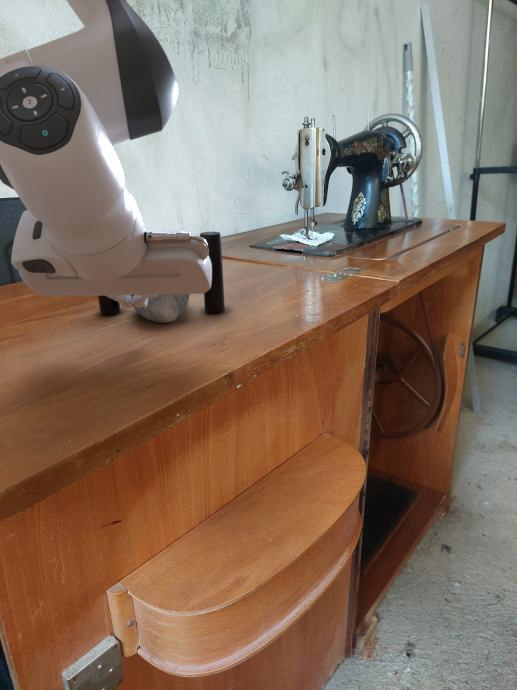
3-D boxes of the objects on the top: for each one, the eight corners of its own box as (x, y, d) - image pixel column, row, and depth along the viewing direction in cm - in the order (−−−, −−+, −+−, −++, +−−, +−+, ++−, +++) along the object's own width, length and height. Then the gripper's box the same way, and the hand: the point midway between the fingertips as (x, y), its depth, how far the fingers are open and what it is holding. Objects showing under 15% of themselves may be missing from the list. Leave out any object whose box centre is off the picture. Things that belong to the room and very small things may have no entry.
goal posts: (98, 317, 78) (86, 237, 73) (104, 311, 80) (93, 234, 76) (223, 315, 77) (219, 234, 73) (225, 309, 80) (221, 231, 75)
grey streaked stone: (148, 306, 86) (113, 260, 80) (198, 278, 85) (166, 229, 79) (157, 353, 75) (117, 303, 69) (214, 321, 74) (178, 268, 68)
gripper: (206, 207, 52) (220, 278, 65) (7, 212, 53) (60, 282, 65) (203, 260, 49) (219, 324, 62) (-6, 264, 50) (51, 326, 63)
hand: (136, 302), depth 64 cm, fingers closed
